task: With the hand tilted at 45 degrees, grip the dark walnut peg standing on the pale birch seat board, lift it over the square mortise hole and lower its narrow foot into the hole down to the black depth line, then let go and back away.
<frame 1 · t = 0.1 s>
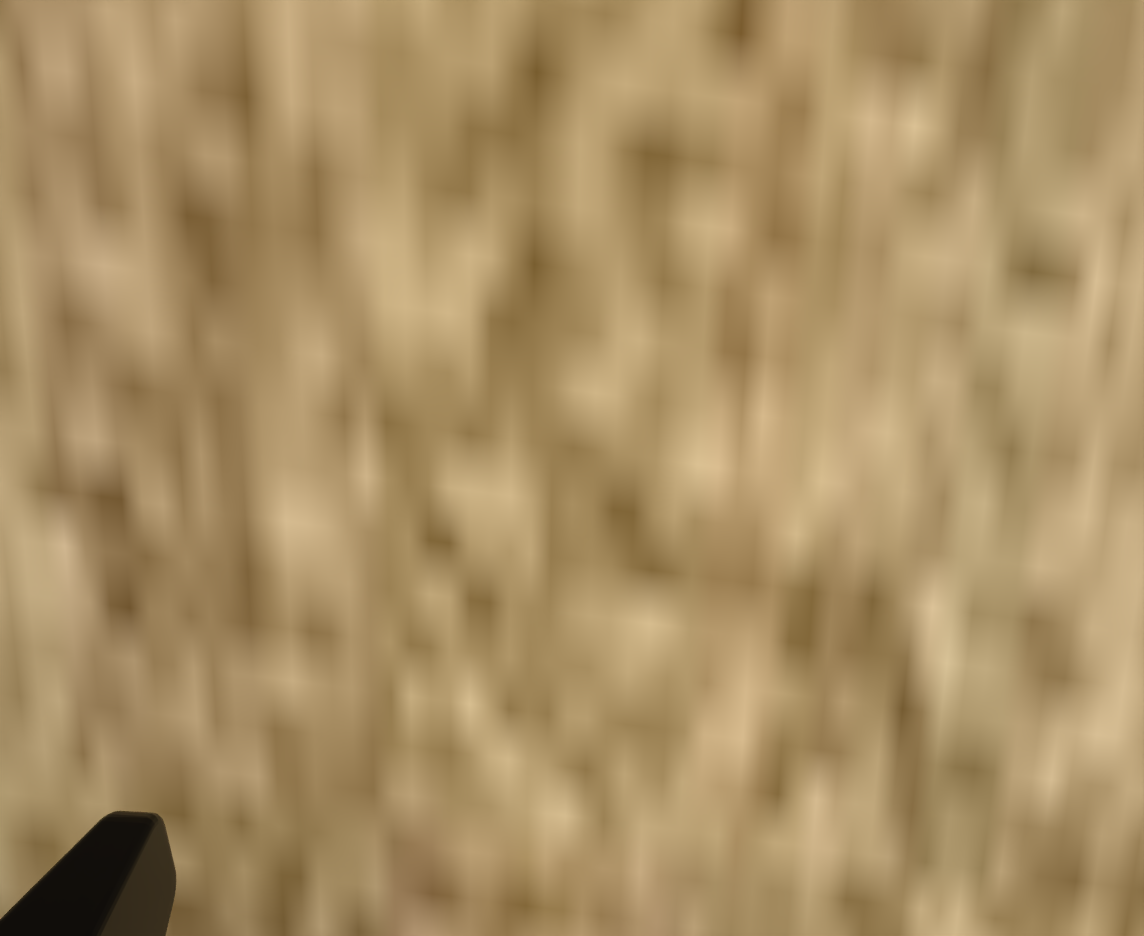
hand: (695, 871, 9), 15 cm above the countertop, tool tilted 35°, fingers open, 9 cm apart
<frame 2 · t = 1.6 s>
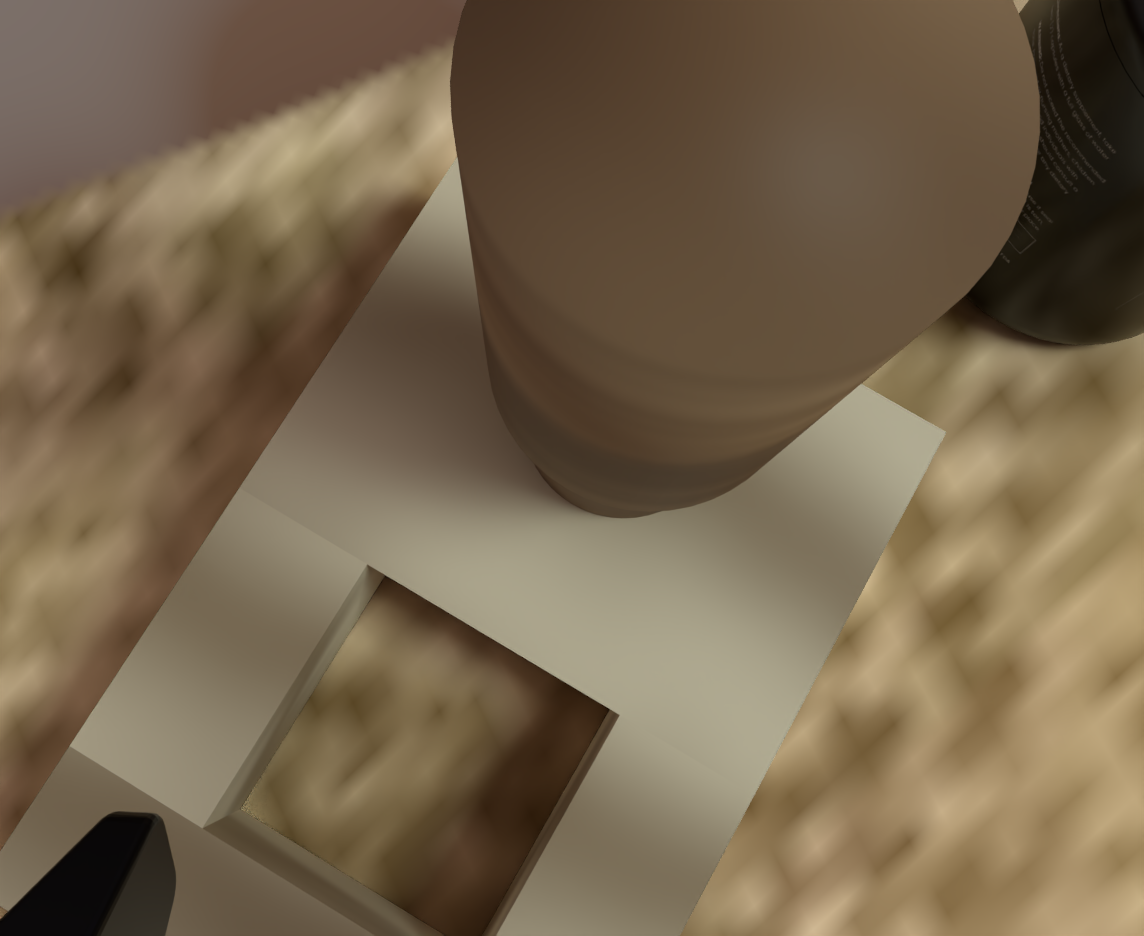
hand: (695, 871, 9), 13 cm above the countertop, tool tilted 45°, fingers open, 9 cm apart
walnut peg: (622, 419, 20), point 2 cm above the countertop, touching seat board
seat board: (491, 650, 22), on the countertop
supplement bottle: (1055, 211, 25), on the countertop
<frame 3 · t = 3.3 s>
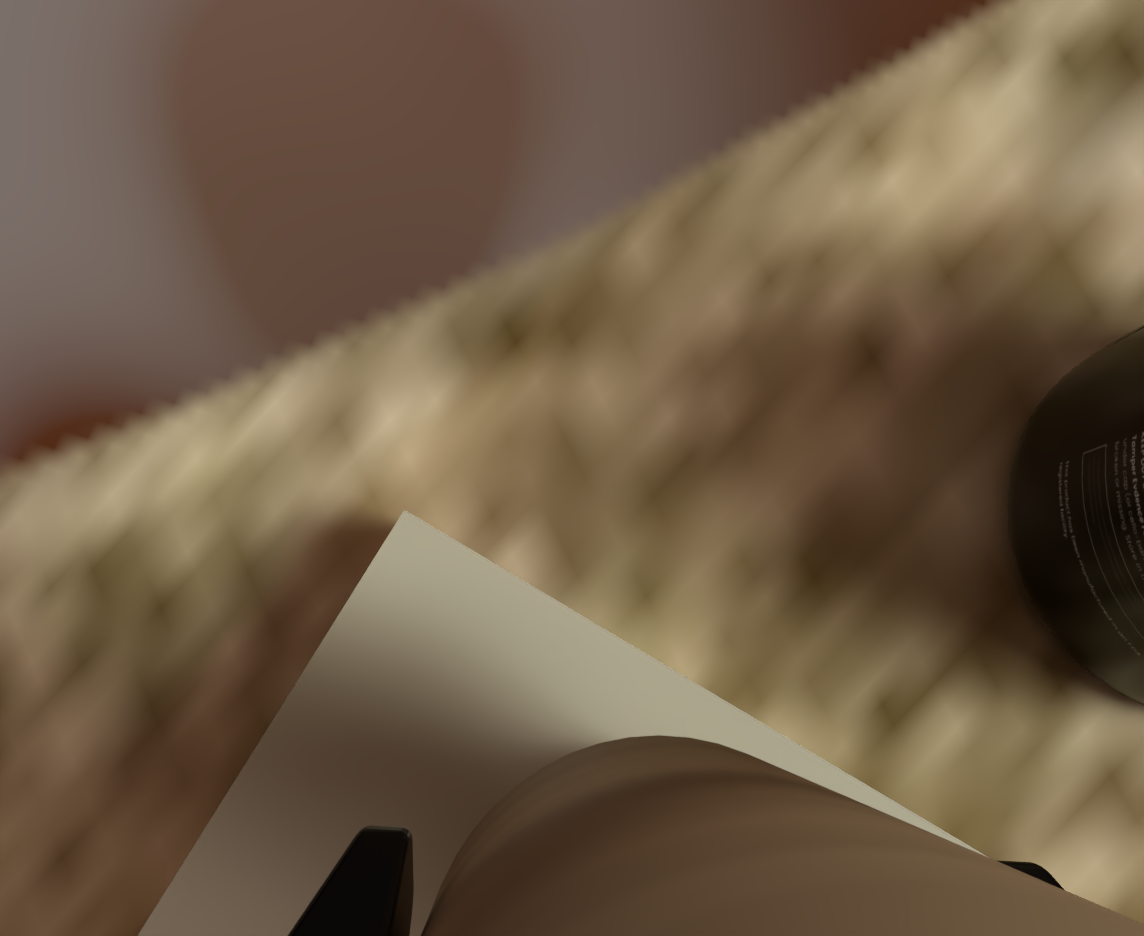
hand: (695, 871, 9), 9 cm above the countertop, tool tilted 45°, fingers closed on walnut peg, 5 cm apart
walnut peg: (622, 888, 15), point 3 cm above the countertop, touching gripper, seat board
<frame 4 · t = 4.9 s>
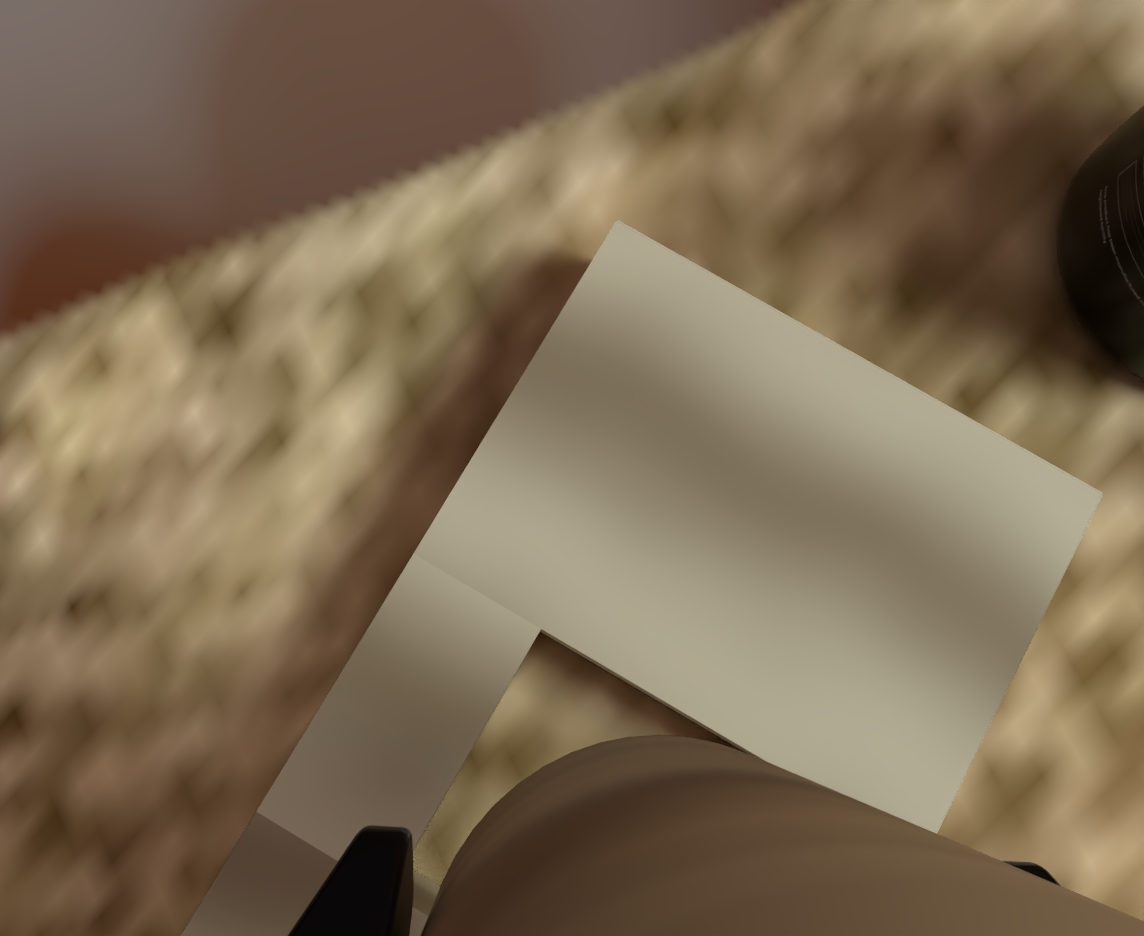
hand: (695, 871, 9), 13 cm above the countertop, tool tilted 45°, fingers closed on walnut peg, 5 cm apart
walnut peg: (622, 888, 15), point 7 cm above the countertop, touching gripper
seat board: (646, 705, 22), on the countertop
when the fingers open (7 cm above the countertop, at t = 6.6 s): walnut peg stays where it is, resting in seat board.
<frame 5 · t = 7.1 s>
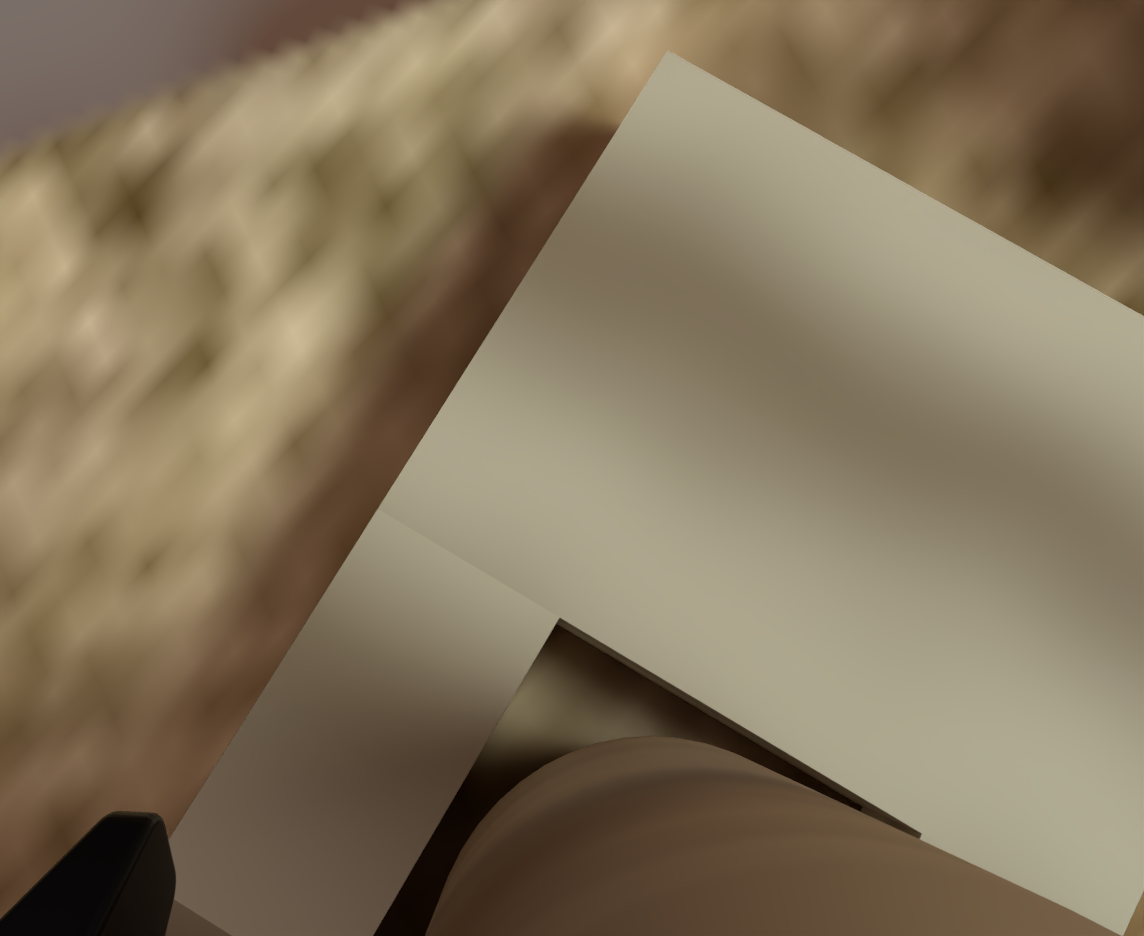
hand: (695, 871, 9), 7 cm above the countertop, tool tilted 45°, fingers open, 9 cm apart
walnut peg: (620, 881, 16), resting in seat board
seat board: (701, 725, 16), on the countertop
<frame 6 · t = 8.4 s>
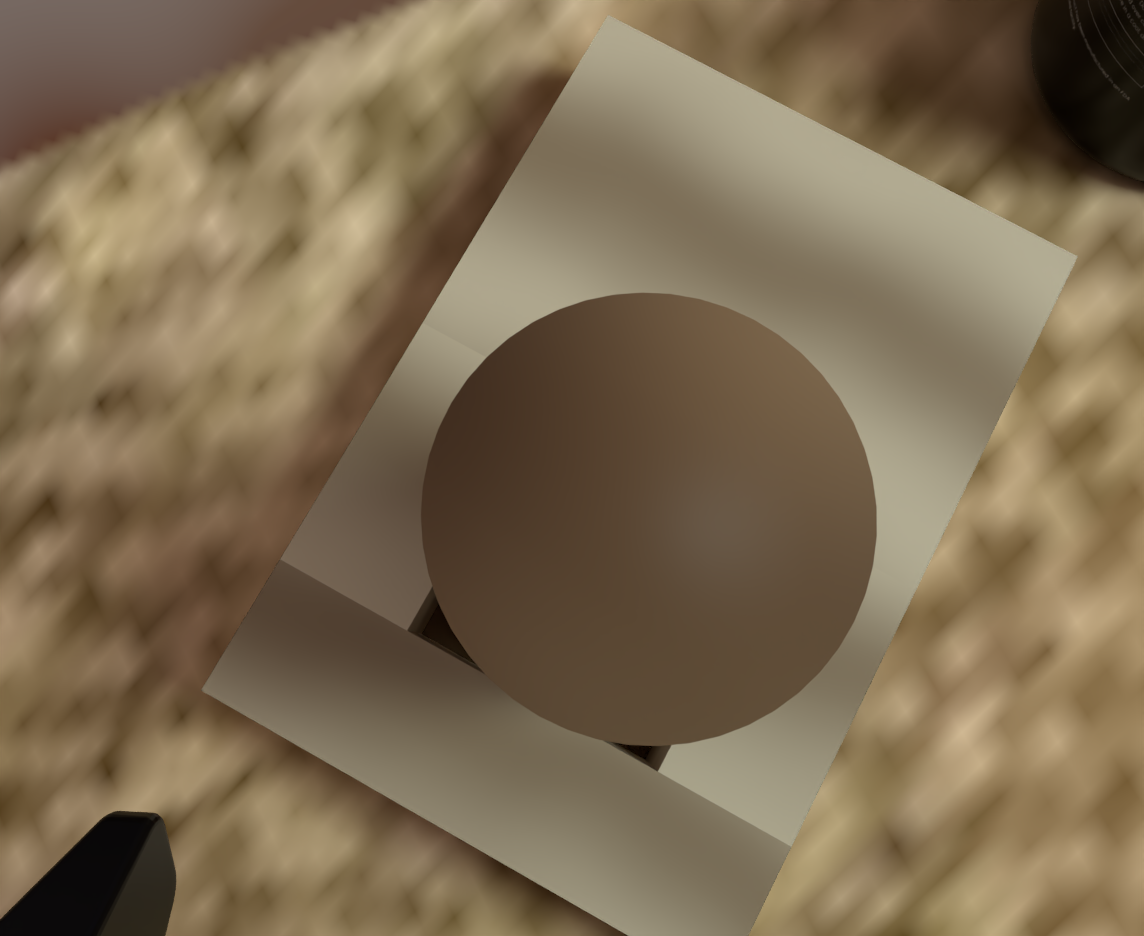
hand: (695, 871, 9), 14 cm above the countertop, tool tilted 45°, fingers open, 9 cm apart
walnut peg: (594, 587, 23), resting in seat board
seat board: (648, 483, 23), on the countertop
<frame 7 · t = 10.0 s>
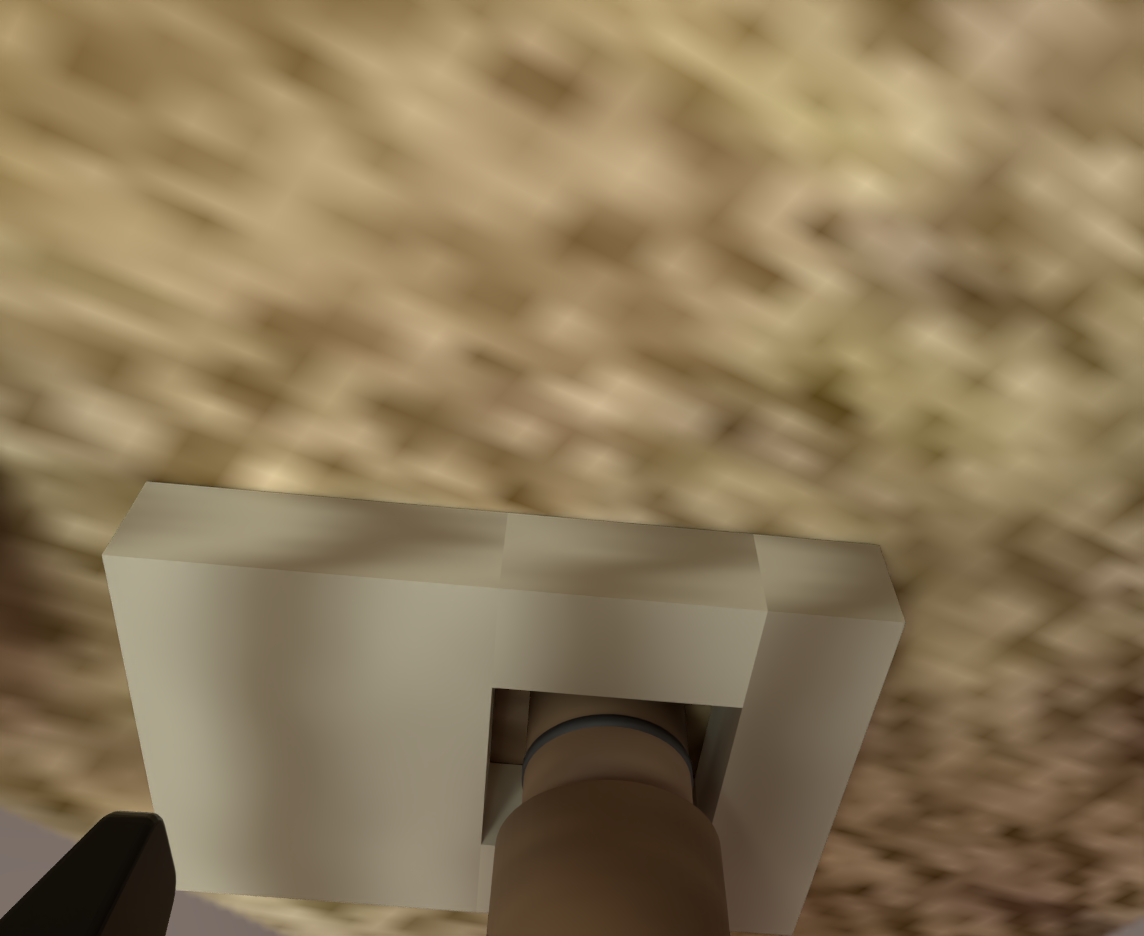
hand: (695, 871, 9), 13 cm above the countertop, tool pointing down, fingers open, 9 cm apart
walnut peg: (606, 697, 26), resting in seat board
seat board: (503, 690, 26), on the countertop
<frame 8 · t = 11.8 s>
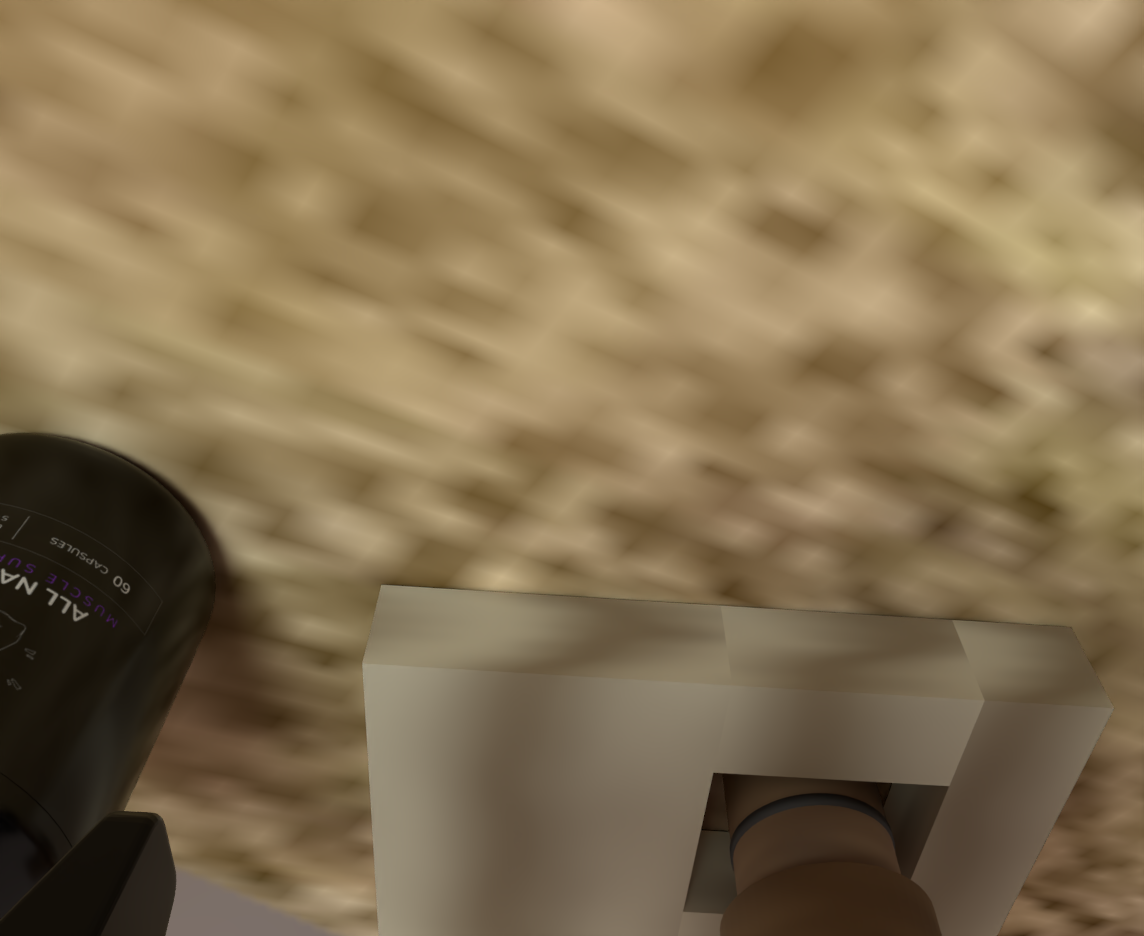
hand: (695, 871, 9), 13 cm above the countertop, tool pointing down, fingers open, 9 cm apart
walnut peg: (795, 767, 28), resting in seat board
seat board: (697, 764, 28), on the countertop
supplement bottle: (71, 542, 24), on the countertop
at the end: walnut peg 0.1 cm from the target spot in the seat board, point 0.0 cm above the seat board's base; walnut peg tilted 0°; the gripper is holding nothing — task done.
